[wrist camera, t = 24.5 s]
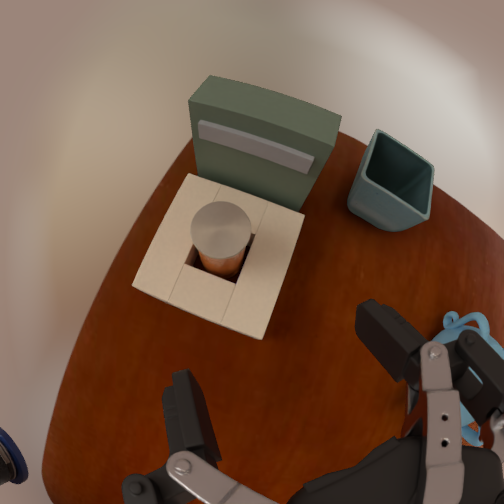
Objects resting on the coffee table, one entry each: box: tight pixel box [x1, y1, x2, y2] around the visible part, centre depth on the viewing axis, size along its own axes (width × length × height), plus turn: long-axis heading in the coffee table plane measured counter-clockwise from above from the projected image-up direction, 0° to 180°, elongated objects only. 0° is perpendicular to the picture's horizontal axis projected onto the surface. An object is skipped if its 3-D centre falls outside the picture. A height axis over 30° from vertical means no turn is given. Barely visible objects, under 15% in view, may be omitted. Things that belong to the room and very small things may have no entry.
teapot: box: [432, 311, 504, 446], centre depth 22 cm, size 15×17×11 cm
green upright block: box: [188, 75, 342, 212], centre depth 26 cm, size 12×4×14 cm, turn 70°
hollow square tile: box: [132, 173, 305, 340], centre depth 28 cm, size 13×13×4 cm
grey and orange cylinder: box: [190, 201, 251, 279], centre depth 25 cm, size 5×5×9 cm
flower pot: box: [347, 129, 434, 232], centre depth 29 cm, size 9×9×9 cm
